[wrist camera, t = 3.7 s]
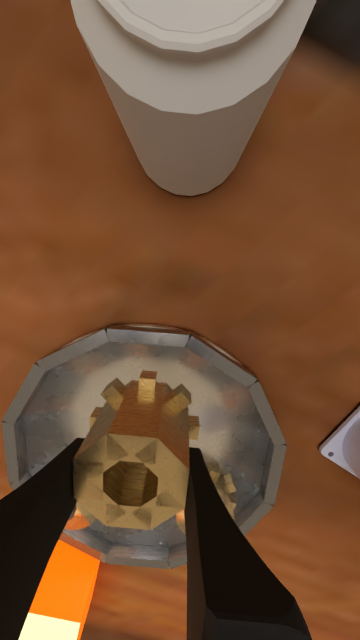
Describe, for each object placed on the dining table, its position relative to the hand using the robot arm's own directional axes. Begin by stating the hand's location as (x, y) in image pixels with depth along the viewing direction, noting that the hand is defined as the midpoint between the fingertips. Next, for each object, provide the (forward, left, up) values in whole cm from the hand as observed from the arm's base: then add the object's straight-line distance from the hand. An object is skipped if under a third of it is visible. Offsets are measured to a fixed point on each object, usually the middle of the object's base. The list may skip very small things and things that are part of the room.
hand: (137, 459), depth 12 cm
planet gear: (0, 0, -3) cm, 3 cm away
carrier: (-3, +6, -9) cm, 11 cm away
